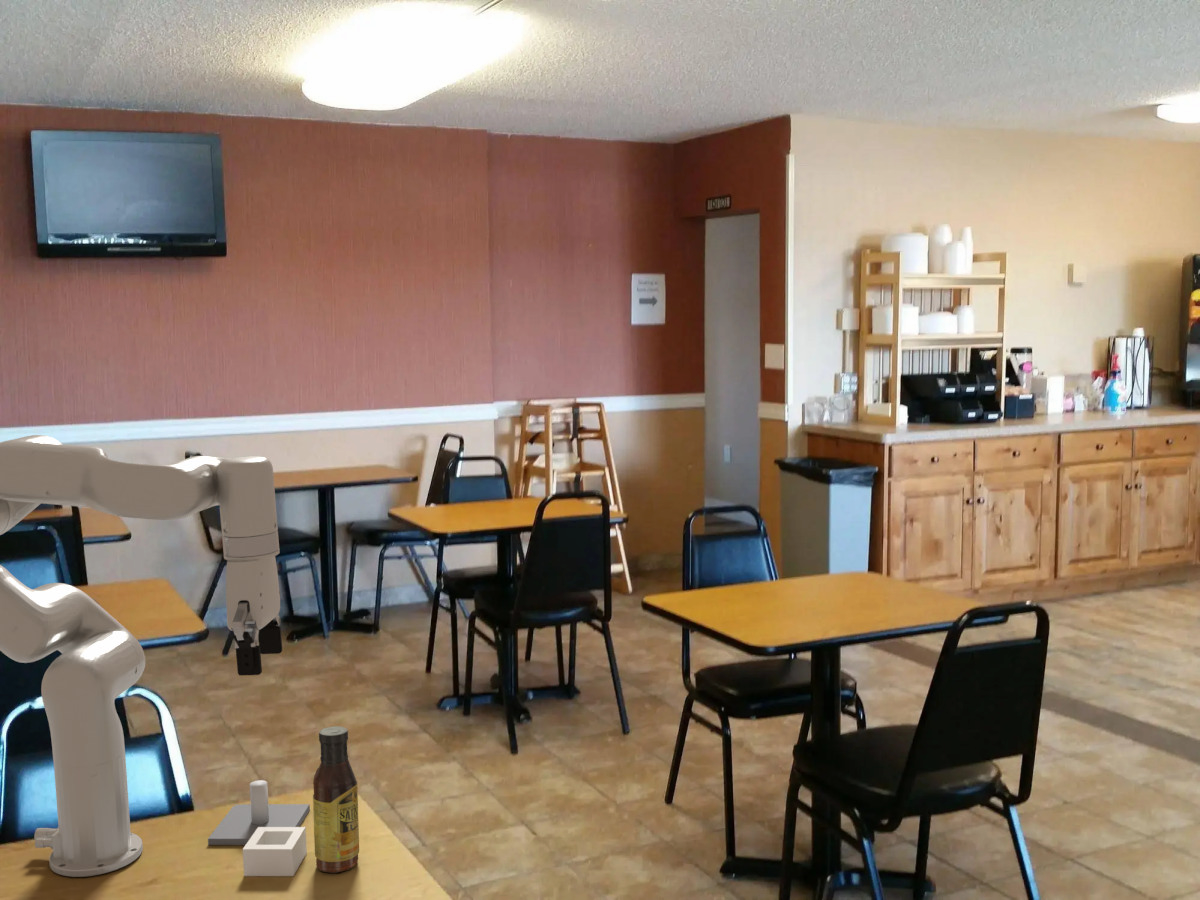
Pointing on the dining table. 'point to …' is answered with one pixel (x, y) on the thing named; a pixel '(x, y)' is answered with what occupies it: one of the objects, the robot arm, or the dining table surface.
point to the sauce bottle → (335, 805)
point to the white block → (274, 851)
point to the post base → (243, 822)
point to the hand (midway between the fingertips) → (260, 663)
